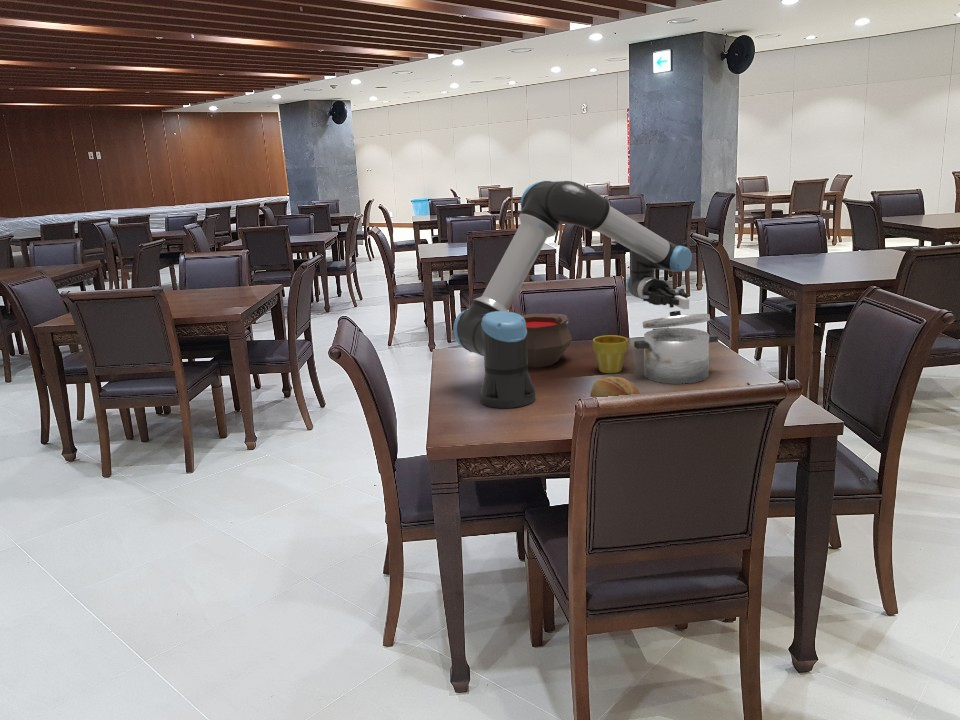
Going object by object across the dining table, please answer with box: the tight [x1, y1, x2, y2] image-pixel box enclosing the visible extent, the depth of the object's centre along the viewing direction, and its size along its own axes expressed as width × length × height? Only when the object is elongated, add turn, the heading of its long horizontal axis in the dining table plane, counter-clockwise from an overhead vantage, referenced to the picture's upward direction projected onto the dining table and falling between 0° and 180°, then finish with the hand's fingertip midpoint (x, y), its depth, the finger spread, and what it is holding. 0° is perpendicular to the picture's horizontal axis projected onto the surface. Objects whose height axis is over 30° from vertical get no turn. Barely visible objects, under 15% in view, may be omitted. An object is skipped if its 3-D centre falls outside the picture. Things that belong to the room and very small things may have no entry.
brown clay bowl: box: [508, 308, 574, 369], centre depth 233 cm, size 24×24×16 cm
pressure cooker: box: [633, 327, 719, 385], centre depth 211 cm, size 24×21×12 cm
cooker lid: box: [642, 310, 711, 329], centre depth 208 cm, size 19×19×4 cm
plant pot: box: [592, 334, 629, 374], centre depth 219 cm, size 10×10×10 cm
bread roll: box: [589, 376, 641, 398], centre depth 186 cm, size 10×15×8 cm, turn 39°
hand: (686, 304), depth 200 cm, fingers closed
